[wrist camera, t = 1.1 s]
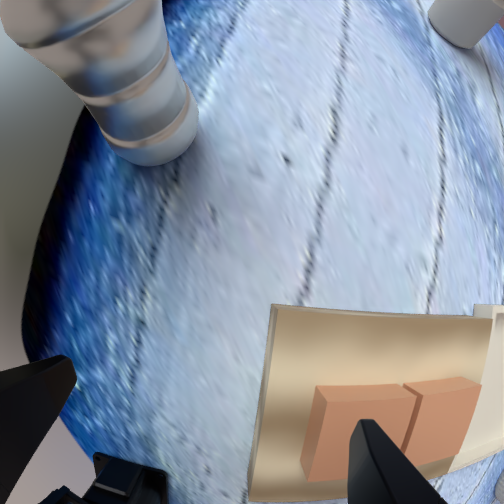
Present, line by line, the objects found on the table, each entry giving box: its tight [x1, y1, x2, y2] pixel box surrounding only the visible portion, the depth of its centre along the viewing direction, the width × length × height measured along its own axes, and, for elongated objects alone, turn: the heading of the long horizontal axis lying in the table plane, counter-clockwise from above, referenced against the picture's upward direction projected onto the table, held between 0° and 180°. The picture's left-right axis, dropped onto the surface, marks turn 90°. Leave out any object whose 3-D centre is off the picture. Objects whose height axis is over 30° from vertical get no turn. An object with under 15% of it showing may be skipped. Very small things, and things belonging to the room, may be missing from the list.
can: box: [428, 0, 504, 49], centre depth 17 cm, size 8×8×12 cm
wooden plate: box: [247, 304, 493, 502], centre depth 17 cm, size 14×17×4 cm
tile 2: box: [400, 376, 482, 467], centre depth 14 cm, size 6×6×2 cm
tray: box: [447, 304, 504, 474], centre depth 18 cm, size 16×12×2 cm
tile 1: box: [300, 384, 417, 482], centre depth 14 cm, size 6×6×2 cm
